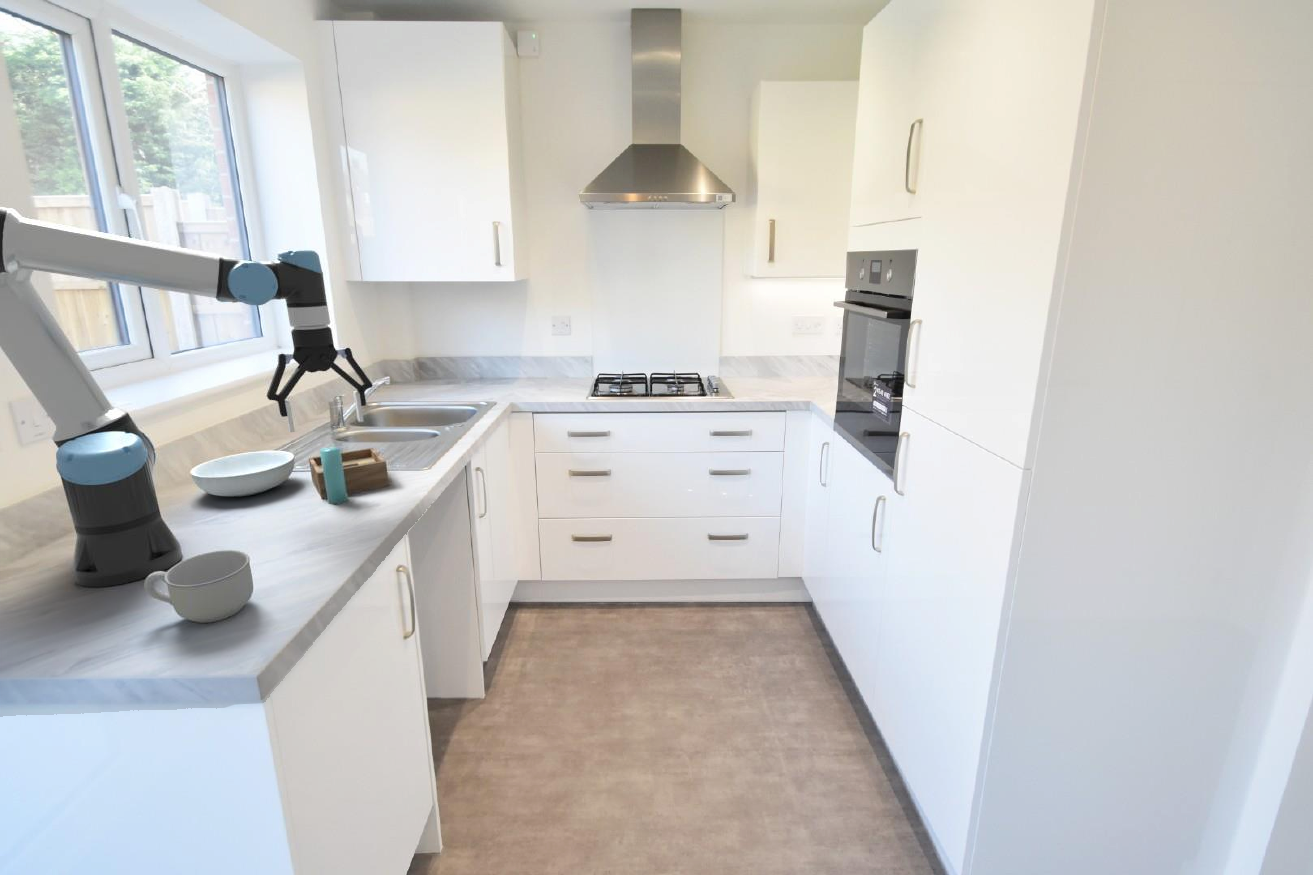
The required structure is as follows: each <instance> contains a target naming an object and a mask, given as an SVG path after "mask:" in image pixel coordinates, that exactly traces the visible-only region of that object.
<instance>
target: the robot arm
mask: <svg viewBox="0 0 1313 875" xmlns="http://www.w3.org/2000/svg"><path fill="white" fill-rule="evenodd" d="M34 271H38V272H44V273H50V274H51V273H52V274H57V275H58V274H59V275H65V276H70V277H76V278H83V279H89V280H97V281H103V282H109V283H116V284H122V285H128V286H129V285H130V286H135V287H143V288H146V289H147V288H148V289H149V288H150V289H154V290H161V291H162V290H163V291H167V292H174V293H180V294H188V295H194V296H200V297H206V298H207V297H208V298H212V299H216V301H218V302H220V303H232V304H233V303H234V304H235V303H242V304H245V305H250V306H262V305H266V303H268V302H270V301H272V300H285V302H286V308H287V315H288V321H289V326H290V327H292V329H291V331H290V333H291V338H292V340H291V341H292V344H293V352H292V353H283V352H279V353H277V366H276V368H275V372H274V374H273V376H272V379H271V383H270V385H269V388H268V390H267V392H266V398H267V399H268V400H269V401H275V402H277V403H278V409H279V415H280V416H281V417H282V418H285V417H286V420H287V424H288V425H287V426H288V430H289V431H290V433H295V432H296V431H295V426H294V425H295V424H294V420H293V415H292V410H291V409H292V408H291V405H290V401H289V399H287V398H288V396H289V395H290V394H291V392H292V391H293V389H294V388H295V387H296V385H297V384H298V383H299V381H300V380H301V378H302V376H304V375H305V373H306V372H308V373H310V374H311V373H317V372H327V371H328V370H330V369H331V370H333V371H334V372H335V373H336V374H338V375H339V376H340V377H341V378H343V379H344V380H345V381H346V382H348V383H349V385H351V386H352V387H354V389H356V390H355V391H352V392H353V393H352V394H353V399H354V404H355V411H356V412H355V413H356V418H357V421H358V422H359V423H364V421H365V420H364V415H363V408H362V407H364V406H366V405H367V400H366V394H365V392H366V390H368V389H371V388H373V383H372V382H371V380H370V378H369V377H368V376H367V375H366V373H365V372H364V370H363V369H362V368H361V366H360V365H359V364H358V363H357V361H356V359H355V358H354V356H353V352H352V349H351V348H350V347H348V346H344V347H342V348H339V349H336V348H335V345H334V339H333V338H334V337H333V333H332V332H333V330H332V328H331V327H329V325H330V324H331V320H330V312H329V306H328V301H327V294H326V287H325V281H324V272H323V269H322V265H321V260H320V256H319V254H318V253H317V252H316V251H314V250H312V249H310V250H309V249H305V250H302V249H300V250H299V249H298V250H280V251H278V252H277V260H270V261H256V260H246V259H242V258H241V259H240V258H234V257H230V256H222V255H219V254H215V253H209V252H204V251H198V250H192V249H188V248H183V247H177V246H173V245H167V244H161V243H157V242H151V241H147V240H141V239H140V240H139V239H135V238H130V237H125V236H119V235H116V234H115V235H114V234H109V233H104V232H99V231H94V230H87V229H83V228H77V227H74V226H73V227H71V226H66V225H62V224H56V223H51V222H46V221H40V220H36V219H29V218H25V217H22V215H20V214H19V213H18V212H17V211H16V210H15V209H14V208H8V207H3V206H0V349H1V351H3V354H4V355H5V356H6V357H7V359H8V360H9V362H10V363H11V364H12V366H13V367H14V369H15V370H16V372H17V373H18V374H19V376H20V377H21V379H22V380H23V381H24V383H25V384H26V386H27V387H28V389H29V390H30V392H31V393H32V394H33V396H34V397H35V399H36V400H37V402H38V403H39V404H40V406H41V407H42V408H43V410H44V412H45V413H46V414H47V416H48V417H49V419H50V420H51V421H52V422H53V424H54V426H55V431H54V433H53V436H52V441H53V442H54V444H55V445H56V447H57V448H58V449H57V451H56V454H55V458H56V465H55V467H56V471H57V473H58V475H59V476H60V479H61V484H62V487H63V490H64V494H65V498H66V501H67V504H68V507H69V512H70V515H71V516H70V517H71V520H72V523H73V527H74V530H75V534H76V540H75V546H74V553H73V560H72V566H71V571H72V576H73V578H74V582H75V583H76V584H77V585H79V586H81V587H82V586H83V587H88V588H89V587H90V588H96V587H97V588H100V587H111V586H117V585H122V584H127V583H130V582H131V583H132V582H135V581H139V580H142V579H146V578H147V577H148V576H149V575H150V574H152V573H154V572H157V571H164V572H165V570H169V568H170V569H171V568H172V567H173V566H175V565H176V564H178V563H179V561H180V560H181V559H182V558H183V552H182V547H181V544H180V542H179V540H178V539H177V537H176V536H175V535H174V533H173V531H172V530H171V528H170V527H169V526H168V525H167V524H166V522H165V521H164V519H163V517H162V515H161V511H160V510H161V509H160V506H159V502H158V498H157V493H156V490H155V489H156V488H155V484H154V479H153V471H154V466H155V464H156V463H155V462H156V451H155V447H154V444H153V442H152V440H150V438H149V437H148V436H147V435H146V434H145V433H144V432H143V431H141V430H140V429H139V427H138V426H137V425H136V423H135V422H134V420H133V418H132V417H131V416H130V414H129V412H128V411H127V410H126V409H122V408H119V407H115V406H113V405H112V404H111V403H110V401H109V399H108V397H107V396H106V395H105V393H104V392H103V390H102V388H101V387H100V385H99V384H98V382H97V381H96V379H95V378H94V376H93V374H92V373H91V372H90V370H89V369H88V367H87V366H86V364H85V362H84V361H83V359H82V358H81V357H80V355H79V353H78V352H77V350H76V349H75V347H74V346H73V344H72V343H71V341H70V340H69V338H68V337H67V335H66V334H65V332H64V331H63V329H62V328H61V325H60V324H59V323H58V321H57V320H56V319H55V317H54V315H53V314H52V313H51V312H52V311H50V310H49V308H48V306H47V304H46V302H44V300H43V298H42V297H41V295H40V294H39V292H38V291H37V289H36V288H35V286H34V284H32V282H31V277H32V274H33V272H34ZM338 356H340V357H341V358H342V359H345V360H346V361H347V363H348V364H349V366H350V367H351V368H352V369H353V371H354V372H355V374H356V375H357V376H358V378H359V379H360V381H361V382H362V383H361V384H360V383H359V382H358V381H357V380H356V379H354V378H353V377H352V376H350V375H349V373H347V372H346V371H345V370H343V369H342V367H340V366H339V365H337V364H336V363H335V361H336V359H337V358H338ZM291 360H294V361H295V362H296V363H297V364H298V366H297V367H296V369H295V370H294V372H293V373H292V375H291V377H290V378H289V379H288V380H287V382H286V383H285V384H284V386H283V387H282V389H281V390H280V392H279V393H277V392H278V389H279V386H280V383H281V381H282V380H283V379H282V378H283V375H284V373H285V371H286V367H287V365H288V364H290V363H291Z"/></svg>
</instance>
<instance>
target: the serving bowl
mask: <svg viewBox="0 0 1313 875" xmlns="http://www.w3.org/2000/svg"><path fill="white" fill-rule="evenodd" d="M294 467H295V455H294V453H292V452H289V451H284V450H283V451H282V450H261V451H250V452H242V453H238V454H236V453H235V454H231V455H226V456H222V457H219V458H215V459H211V460H208V461H206V462H202V463H201V464H198V465H196V466H195V467H193V468H192V469H191V470H190V472H189V474H190V476H191V479H192V480H193V482H194V484H195V485H196V487H197V488H198V489H200V490H202V491H203V492H205V493H206V494H209V495H213V496H219V497H234V496H239V497H247V496H253V495H258V494H261V493H263V492H265V491H268V490H270V489H273V488H276V487H277V486H279V485H280V484H282V483H284V482H285V481H286V480H288V478H289V477H290V476H291V474H292V473H293V470H294Z"/></svg>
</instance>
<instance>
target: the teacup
mask: <svg viewBox="0 0 1313 875" xmlns="http://www.w3.org/2000/svg"><path fill="white" fill-rule="evenodd" d="M250 561H251V560H250V556H249V555H248V554H247V553H246V552H243V551H240V550H233V549H225V550H224V549H223V550H222V549H221V550H214V551H209V552H204V553H201V554H197V555H194V556H191V557H188V558H187V559H184V560H182V561H180V562H177V563H176V564H174V565H173V566H171V567H170V569H167V571H165V570H164V571H157V572H154V573H152V574H150V575H149V576H148V577H146V578H145V580H144V583H143V587H144V591H145V592H146V593H147V594H148V595H149V596H150V597H152V598H154V599H156V600H159V601H161V602H165V603H168V604H170V605H171V606H172V607H173V610H174V611H175V613H176V614H177V615H178V616H179V617H180V618H182V619H184V620H188V621H192V622H195V623H202V624H203V623H204V624H205V623H206V622H207V623H213V621H214V622H217V621H221V620H225V619H227V618H229V616H230V617H231V616H233V615H236V613H238V612H239V611H241V610H242V608H244V606H245V605H246V604H247V603H248V602H249V601H250V600H251V598H252V596H253V593H254V581H253V580H254V579H253V573H252V569H251V568H252V567H251V565H250ZM155 580H161V581H163V582H164V583H165V584H166V587H167V590H168V591H167V592H168V593H167V592H164V591H162V590H160V589H158V588H157V587H156V586H155V584H154V581H155ZM207 623H206V624H207Z"/></svg>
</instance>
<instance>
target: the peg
mask: <svg viewBox="0 0 1313 875" xmlns="http://www.w3.org/2000/svg"><path fill="white" fill-rule="evenodd" d="M319 453H320V454H319V456H321V461H322V467H323V474H324V480H325V486H326V492H327V498H326V499H327V503H328V504H331V505H338V504H342V503H346V502H347V501H348V494H347V491H346V484H345V478H344V471H343V464H342V458H341V453H342V452H341V447H340V446H329V447H324V448H321V449H320V450H319Z"/></svg>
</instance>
